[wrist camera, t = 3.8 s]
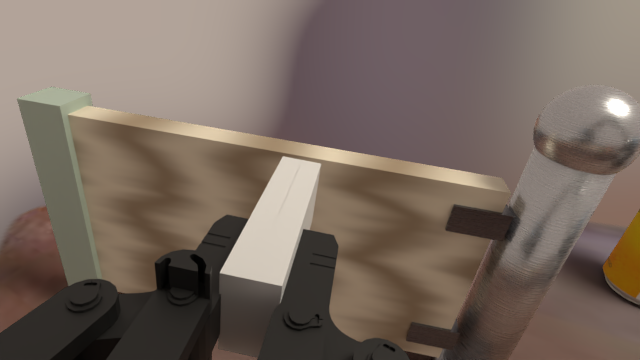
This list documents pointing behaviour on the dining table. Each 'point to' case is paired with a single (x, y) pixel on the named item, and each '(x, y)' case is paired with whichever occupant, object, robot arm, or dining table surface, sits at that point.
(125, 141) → the gate panel
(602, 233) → the dining table surface
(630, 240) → the orange and white cylinder
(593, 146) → the gate post
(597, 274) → the dining table surface
